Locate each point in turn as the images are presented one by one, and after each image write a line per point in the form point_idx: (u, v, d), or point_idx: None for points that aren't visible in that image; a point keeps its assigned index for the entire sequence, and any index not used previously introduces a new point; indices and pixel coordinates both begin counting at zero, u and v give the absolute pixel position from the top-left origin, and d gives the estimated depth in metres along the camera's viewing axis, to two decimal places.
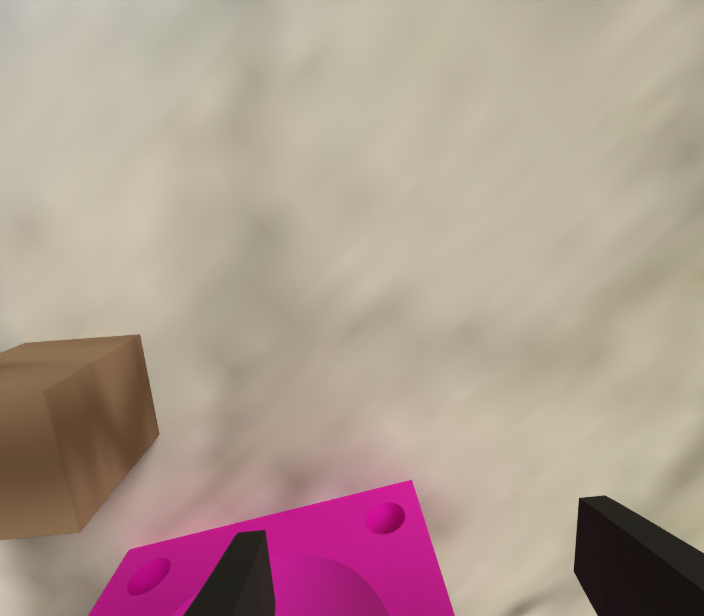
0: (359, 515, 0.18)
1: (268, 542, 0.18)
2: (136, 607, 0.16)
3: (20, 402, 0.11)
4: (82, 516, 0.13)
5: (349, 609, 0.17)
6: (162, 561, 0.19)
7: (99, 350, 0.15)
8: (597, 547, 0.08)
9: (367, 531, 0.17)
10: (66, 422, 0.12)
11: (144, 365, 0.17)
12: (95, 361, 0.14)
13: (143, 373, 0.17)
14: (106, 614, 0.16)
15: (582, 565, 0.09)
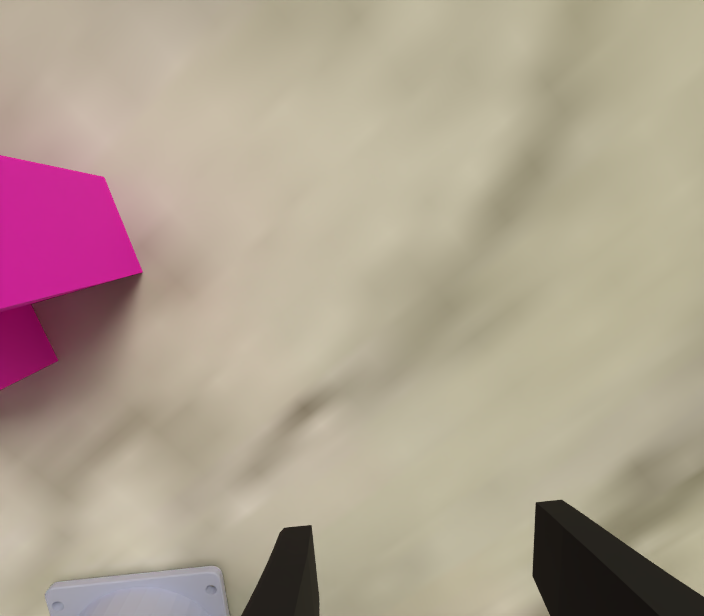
0: None
1: None
2: None
3: None
4: None
5: None
6: None
7: None
8: (551, 552, 0.08)
9: None
10: None
11: None
12: None
13: None
14: None
15: (539, 570, 0.09)
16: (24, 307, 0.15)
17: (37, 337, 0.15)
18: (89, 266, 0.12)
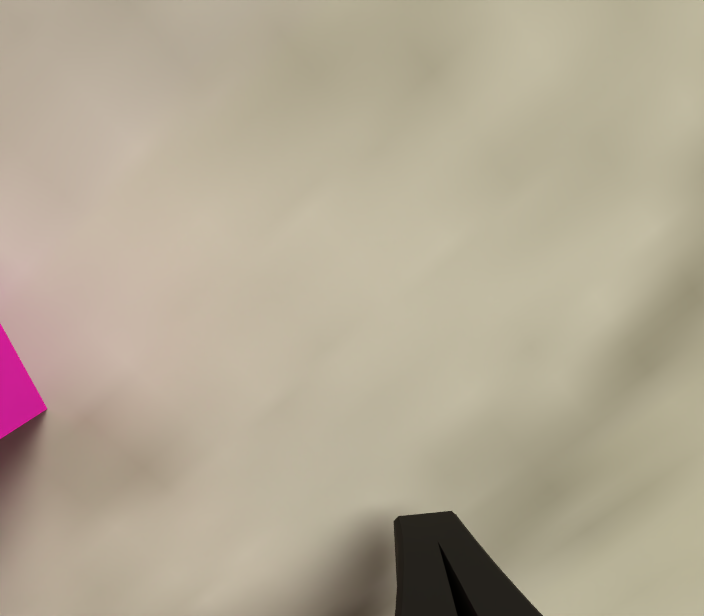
0: None
1: None
2: None
3: None
4: None
5: None
6: None
7: None
8: None
9: None
10: None
11: None
12: None
13: None
14: None
15: None
16: None
17: None
18: None
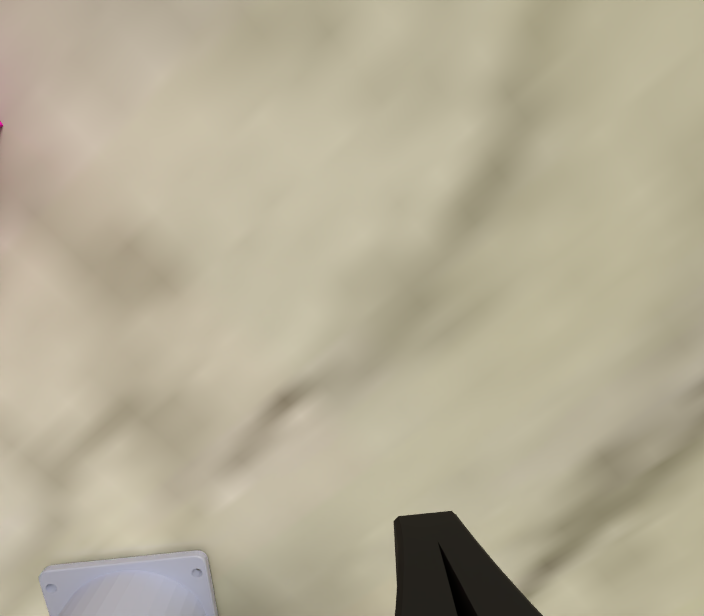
0: None
1: None
2: None
3: None
4: None
5: None
6: None
7: None
8: None
9: None
10: None
11: None
12: None
13: None
14: None
15: None
16: None
17: None
18: None
